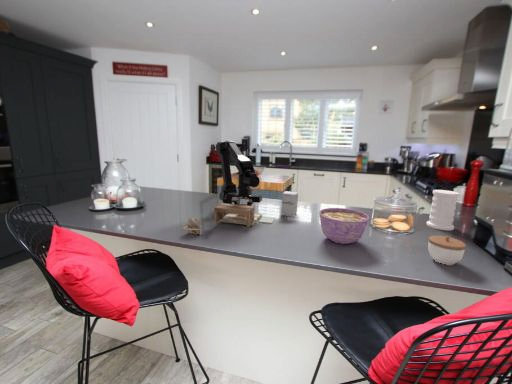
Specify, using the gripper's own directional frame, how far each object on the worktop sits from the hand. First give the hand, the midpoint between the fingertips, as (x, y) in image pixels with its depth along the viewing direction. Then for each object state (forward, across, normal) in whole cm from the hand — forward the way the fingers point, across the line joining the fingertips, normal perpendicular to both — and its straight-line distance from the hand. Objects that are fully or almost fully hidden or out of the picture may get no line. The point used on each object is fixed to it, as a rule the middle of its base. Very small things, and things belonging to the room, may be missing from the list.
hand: (243, 213), depth 137 cm
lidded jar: (+3, -84, +23) cm, 87 cm away
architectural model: (+3, +12, +30) cm, 32 cm away
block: (+3, 0, 0) cm, 3 cm away
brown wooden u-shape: (+1, 0, +13) cm, 13 cm away
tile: (+2, -13, 0) cm, 13 cm away
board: (+2, 0, +2) cm, 3 cm away
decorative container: (+3, -98, -22) cm, 100 cm away
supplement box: (+3, -22, -15) cm, 27 cm away
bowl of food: (+3, -49, +15) cm, 51 cm away
